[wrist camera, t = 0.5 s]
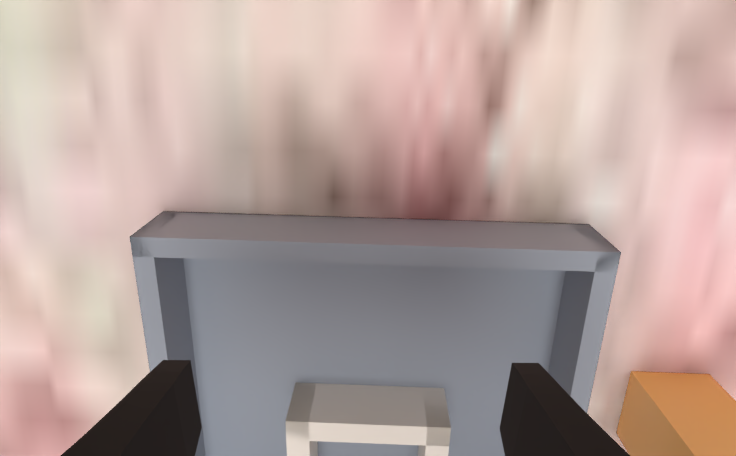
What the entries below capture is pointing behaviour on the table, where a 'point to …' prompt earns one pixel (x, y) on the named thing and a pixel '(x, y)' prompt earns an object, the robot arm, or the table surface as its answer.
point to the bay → (367, 326)
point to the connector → (677, 416)
